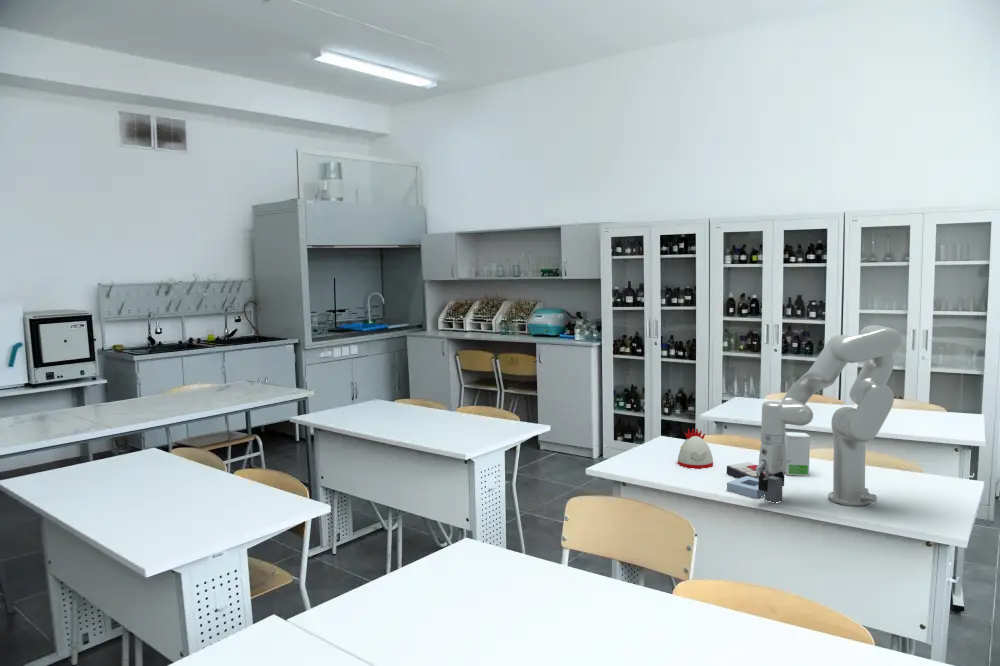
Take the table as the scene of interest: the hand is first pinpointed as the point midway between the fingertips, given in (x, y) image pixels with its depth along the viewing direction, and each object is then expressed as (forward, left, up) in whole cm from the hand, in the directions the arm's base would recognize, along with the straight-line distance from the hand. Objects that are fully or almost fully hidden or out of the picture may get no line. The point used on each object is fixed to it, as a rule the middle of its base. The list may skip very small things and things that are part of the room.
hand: (771, 487), depth 231 cm
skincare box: (+11, -36, -5) cm, 38 cm away
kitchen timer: (+45, -19, -5) cm, 49 cm away
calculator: (+20, -19, -5) cm, 28 cm away
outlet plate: (+10, -5, -5) cm, 12 cm away
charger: (-1, -1, -5) cm, 5 cm away
